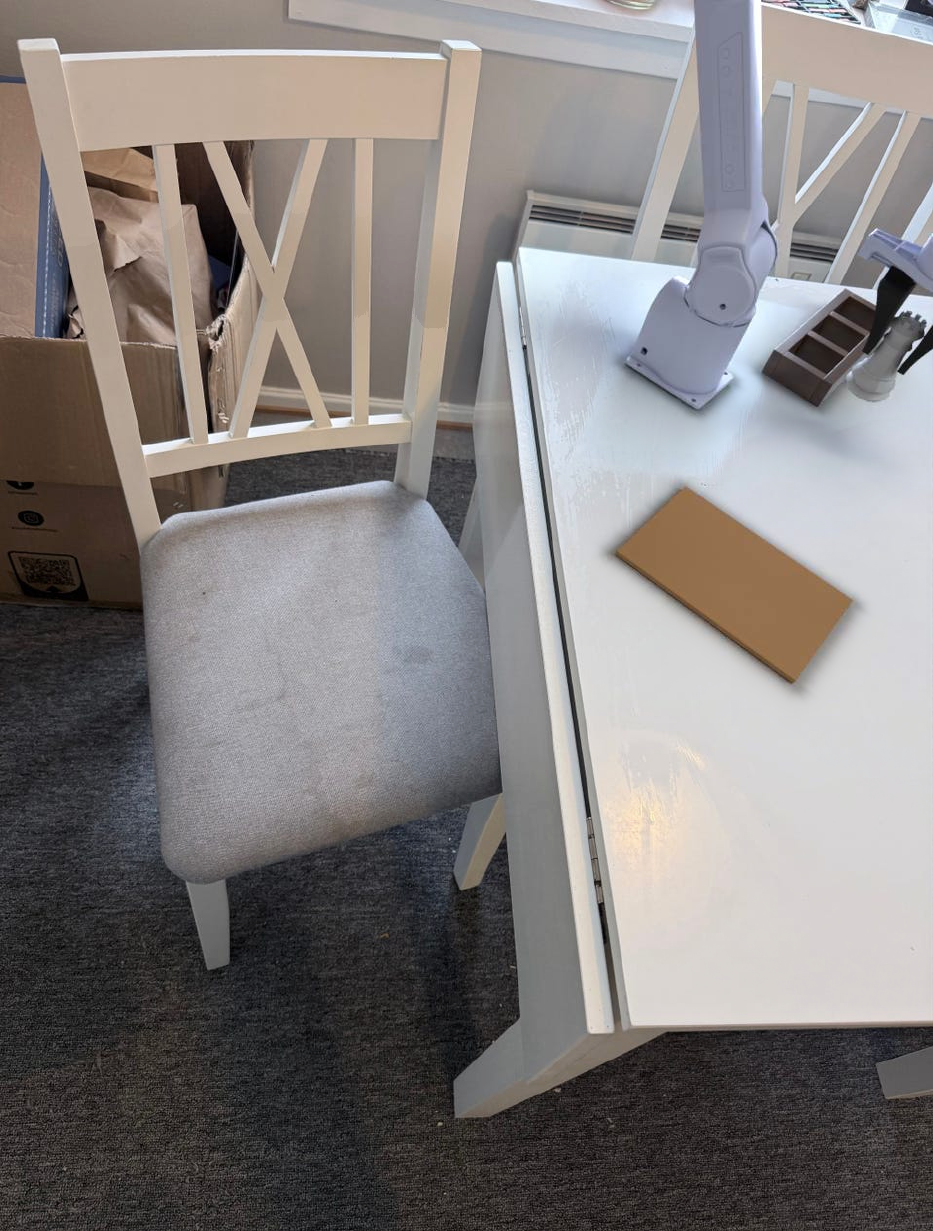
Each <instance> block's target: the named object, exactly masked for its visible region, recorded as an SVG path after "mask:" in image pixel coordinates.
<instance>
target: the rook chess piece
mask: <svg viewBox="0 0 933 1231" xmlns="http://www.w3.org/2000/svg"><path fill="white" fill-rule="evenodd" d="M912 315H913V311H911V310H906V312H905V311H904V310H903V311H901V312H900V314H899V315H898V316H895V318H893V319H892V320H891V323H890V325H891V330H890V332H888V333H886V334H885V335H884V338H883V339H884V340H883V341H882V342H881V344H880V345H879V346H878V347H877V348H876V349H875V350H874V351H873V352H872V353H871V354H870V355H869V356H868V357H867V358H865V359H864V360H863V361H862V362H859V363H857V364H856V365H855V366H854V367H853V368H852V371H851V372H850V373H848V374H847V377H846V379H845V382H846V386H847V389H848V390H849V391H850V392H851V393H852V395H854V396H856V397H857V398H858V399H860V400H863V401H865V402H869V403H878V402H882V401H885V400H887V399H888V398H889V397H890V393H891V392H892V391H893V390H895V386H896V378H897V374H898V372H897V370H898V369H899V368H900V366H901V363H902V361H903V360H904V358H905V357H906V355H907V353H908V352H911V351H912V350H913V344H914V343H915V342H917V341H921V340H922V339H923V338H924V336H925V335H926V333H925V331H926V330H925V329H926V328H927V326H928V325H927V324H928V322H927V320H926V319H922V320H921V318H922V315H921V314H919V313H916V315H915V316H914V317H913V316H912ZM920 320H921V321H920Z"/></svg>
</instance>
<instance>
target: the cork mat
mask: <svg viewBox="0 0 933 1231" xmlns="http://www.w3.org/2000/svg"><path fill="white" fill-rule="evenodd" d="M615 556H617V557H618V558H619V559H621V560H622V561H624V562H625V563H627V565H629V566H631V567H632V568H633V569H635V570H636V571H637V572H639V573H640V574H641V575H642V576H644V577H645V578H647V579H648V580H650V581H652V583H653V584H655V585H657V586H658V587H659V588H661V589H662V590H663V591H665V592H666V593H668V594H669V595H671V596H672V597H673V598H675V599H676V600H677V601H679V602H680V603H681V604H683V605H684V606H685V607H687V608H688V609H690V610H691V611H692V612H694V613H695V614H697V615H698V616H699V617H700V618H702V619H703V620H704V621H706V622H708V624H710V625H711V626H713V627H714V628H716V629H717V630H718V631H720V632H721V633H723V634H724V635H725V636H726V637H727V638H729V639H731V640H732V641H734V642H735V643H736V644H737V645H738V646H740V647H741V648H742V649H745V650H746V651H747V652H749V653H750V654H751V655H752V656H754V657H756V659H758V660H760V661H761V662H762V663H763V664H765V665H766V666H767V667H769V668H771V669H772V671H773V670H774V671H775V672H776V673H777V674H779V675H780V676H782V677H783V678H785V679H786V680H787V681H789V682H790V683H791V684H794V683H795V682H796V681H797V679H799V676H800V675H801V674H802V673H803V671H804V670H805V668H807V665H808V664H810V662H811V660H812V658H813V657H814V656H815V654H816V653H817V652H818V650H819V649H820V647H821V646H822V644H823V643H824V642H825V640H826V639H827V637H828V636H829V635H830V633H831V632H832V631H833V629H834V628H835V626H836V625H837V624H838V622H839V621H840V619H841V618H842V617H843V615H844V614H845V612H846V611H847V609H848V608H849V607H850V605H851V604H852V602H853V601H854V600H853V599H852V598H851V597H850V596H848V595H846V594H845V593H844V592H842V591H841V590H839V589H837V588H836V587H834V586H833V585H832V584H831V583H829V582H827V581H826V580H824V579H823V578H822V577H820V576H818V575H817V574H816V573H814V572H812V571H811V570H810V569H809V568H807V567H805V566H804V565H802V564H801V563H800V562H798V561H797V560H795V559H793V558H792V557H791V556H789V555H788V554H786V553H785V552H783V551H782V550H780V548H778V547H776V546H775V545H773V544H771V543H770V542H769V541H768V540H765V538H763V537H762V536H759V534H757V533H755V532H754V531H753V530H751V529H749V528H748V527H747V526H746V525H744V524H742V523H741V522H739V521H738V520H736V519H735V518H733V517H732V516H730V515H729V514H727V513H726V512H725V511H723V510H722V509H721V508H719V507H718V506H716V505H714V503H711V502H710V501H709V500H707V499H705V498H704V497H703V496H701V495H700V494H698V493H696V492H695V491H694V490H693V489H691V488H689V487H688V486H686V485H685V486H684V487H683V488H682V489H681V490H679V492H677V494H675V496H673V498H671V499H670V500H669V501H668V502H667V503H666V504H665V505H664V506H663V507H662V508H661V509H659V511H658V512H656V513H655V515H653V516H652V517H651V518H650V519H649V520H648V521H647V522H646V523H645V524H644V525H643V526H642V527H640V529H638V530H637V532H635V533H634V534H633V535H632V536H631V537H630V538H629V539H628V540H627V541H626V542H625V543H624V544H622V546H620V548H619V549H617V551H616V552H615Z"/></svg>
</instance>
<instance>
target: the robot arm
mask: <svg viewBox="0 0 933 1231" xmlns="http://www.w3.org/2000/svg"><path fill="white" fill-rule="evenodd" d="M927 1H928V2H929V3H930V4H931V5H932V6H933V0H927ZM693 9H694V10H693V11H694V30H695V51H696V70H697V90H698V91H697V92H698V110H699V112H698V113H699V130H700V133H699V134H700V151H701V167H702V168H701V170H702V190H703V191H702V192H703V193H702V194H703V218H702V223H701V227H700V231H699V232H700V233H699V237H698V240H697V241H698V242H697V247H696V250H697V251H696V253H697V263H696V267H695V270H694V273H693V275H692V276H691V279H686V278H684V277H682V276H678V275H677V276H673V277H672V278H671V279H669V280H668V281H667V282H665V284H664V285H663V286H662V287H661V288H660V290H659V291H658V293H657V294H656V295H655V298H654V300H653V301H652V303H651V304H650V306H649V309H648V311H647V314H646V316H645V319H644V321H643V323H642V326H641V328H640V331H639V333H638V336H637V338H636V340H635V344H634V346H633V349H632V351H631V353H630V355H629V356H628V357H627V358H626V360H625V364H626V365H627V366H628V367H630V368H631V369H633V370H635V371H636V372H638V373H640V375H643V376H644V377H645V378H647V379H649V380H650V381H652V382H653V383H655V384H656V385H658V386H659V387H660V388H662V389H664V390H665V391H666V392H668V393H670V394H672V395H674V396H675V397H677V398H678V399H680V400H681V401H683V402H684V403H686V404H687V405H688V406H690V407H692V408H693V409H695V410H700V409H701V408H702V407H704V406H705V405H706V404H707V403H708V402H709V401H711V400H712V399H713V398H714V397H715V396H716V395H718V394H719V393H720V392H721V391H723V389H725V387H727V386H728V385H729V384H730V383H732V381H733V380H734V375H733V374H732V373H730V372H728V371H727V369H728V367H729V364H730V363H731V361H732V360H733V357H734V355H735V353H736V351H737V349H738V347H739V346H740V344H741V342H742V340H743V339H744V336H745V334H746V332H747V330H748V328H749V326H750V325H751V322H752V321H753V318H754V317H755V315H756V313H757V306H756V305H757V302H758V299H759V295H760V292H761V290H762V288H763V285H764V284H765V281H766V280H767V277H768V275H769V274H770V273H771V271H772V270H773V268H774V267H775V265H776V263H777V260H778V257H779V241H778V238H777V236H776V234H775V232H774V230H773V229H772V227H771V223H770V220H769V204H768V203H767V200H766V198H765V196H764V194H763V122H762V121H763V107H762V106H763V105H762V104H763V102H762V100H763V97H762V88H763V86H762V0H693ZM857 256H858V257H860V258H862V259H864V260H866V261H868V260H869V261H870V259H871V260H873V261H875V262H877V263H879V264H880V265H882V266H883V267H886V268H887V269H888V270H887V272H886V273H885V274H884V276H883V277H882V278H881V279H880V280H879V283H878V285H877V289H876V300H875V301H876V302H875V305H876V309H875V315H874V320H873V323H872V327H871V330H870V333H869V336H868V339H867V341H866V344H865V346H864V348H863V350H862V352H864V353H865V354H867V355H868V354H869V353H870V352H871V351H872V350H873V349H874V348H875V347H876V346H877V344H878V343H879V341H880V340H881V339H882V337H883V336H884V334H885V332H886V330H887V329H888V327H889V325H890V323H891V320H892V319H893V318H894V316H895V317H896V315H897V314H898V312H899V311H900V309H901V307H902V306H903V305H904V303H905V302H906V301H907V299H908V298H909V296H910V295H911V293H912V292H913V290H914V289H915V288H916V286H917V285H919V286H920V287H922V288H924V289H925V290H927V291H928V292H930V293H932V294H933V232H932V233H931V234H930V236H929V238H928V239H927V241H926V242H925V243H924V245H923V246H922V245H920V244H917V243H914V242H911V241H909V240H906V239H903V238H900V237H898V236H895V235H892V234H890V233H887V232H886V231H883V230H881V229H879V228H875V229H874V230H873V231H872V232H870V234H868V236H867V237H866V239H865V241H864V243H863V244H862V246H861V248H860V249H859V251H858V252H857ZM932 350H933V324H932V325H931V326H930V328H928V330H927V332H926V333H925V335H924V337H923V338H922V339H920V342H919V343H918V344H917V346H916V347H915V349H913V351H912V352H911V353H910V354H909V355H908V356H907V358H906V359H905V360H904V361H903V362H901V363H902V364H900V365H899V367H898V369H897V372H896V373H897V374H898V373H899V374H900V375H901V376H905V374H906V373H907V372H908V371H909V370H910V369H911V368H912V367H913V365H915V364H916V363H917V362H918V361H919V360H921V359H922V358H923V357H924V356H925V355H927V354H929V353H930V352H931V351H932Z"/></svg>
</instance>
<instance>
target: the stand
mask: <svg viewBox="0 0 933 1231" xmlns="http://www.w3.org/2000/svg"><path fill="white" fill-rule="evenodd" d="M875 309H876V304H874V303H872V302H871V301H869V300H867V299H865V298H863V297H862V296H860V295H858V294H856V293H855V292H852V291H851V290H849V289H847V288H846V287H844V288H843V289H842V290H841V291H840V292H838V293H837V294H836V295H835V296H834V297H833V298H832V299H830V300H829V301H828V302H827V303H825V305H824V306H822V307H821V308H820V309H818V311H816V312H815V313H814V314H813V315H812V316H811V317H809V319H807V320H806V321H805V322H804V323H803V324H801V325H800V326H799V327H798V328H797V329H796V330H795V331H794V332H793V333H791V334H790V335H789V336H788V337H787V338H786V339H784V340H783V341H782V342H781V343H779V345H777V346H776V347H775V348H774V349H773V350H772V352H771V354H770V356H769V357H768V359H767V361H766V362H765V365H764V366H763V368H762V370H761V373H762V374H764V375H765V376H767V377H769V378H770V379H772V380H774V381H776V382H777V383H778V384H780V385H782V386H783V387H785V388H786V389H788V390H790V391H792V392H793V393H795V394H797V395H798V396H800V397H801V398H803V399H805V400H806V401H808V402H810V403H811V404H813V405H814V406H816V407H820V406H821V405H822V403H824V402H825V401H826V400H827V399H828V398H829V397H830V396H831V395H832V394H833V393H834V392H835V391H836V390H837V389H838V387H840V385H841V384H842V383H844V381H846V377H847V374H848V373H850V372H851V371H852V368H853V367H854V366H855V365H856V364H857V363H859V362H862V361H863V360H864V359H865V358H868V357H869V356H871V354H872V353H873V352H874V351H875V350H876V349H877V348H878V347H879V345H880V344H881V343H882V341H883V340H884V339H883V338H884V336H883V337H882V339H881V340H880V341H879V343H878V344H877V346H876V347H875V348H874V349H873V350H872V351H871V352H870V353H869V354H868V355H867V354H865V353H864V352H862V350H863V348H864V346H865V344H866V341H867V339H868V336H869V333H870V330H871V327H872V323H873V320H874V315H875ZM895 317H896V315H895V316H894V318H895ZM890 330H891V325H889V327H888V329H887V330H886V332H885V334H886V333H888V332H890ZM885 334H884V335H885Z"/></svg>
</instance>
